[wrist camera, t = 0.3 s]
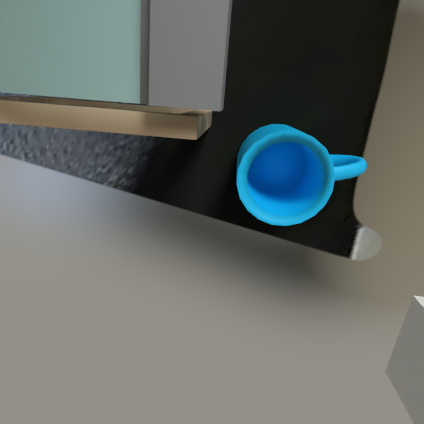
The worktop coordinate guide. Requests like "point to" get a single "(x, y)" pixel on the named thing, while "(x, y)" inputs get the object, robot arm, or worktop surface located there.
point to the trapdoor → (117, 50)
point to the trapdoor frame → (105, 116)
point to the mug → (289, 174)
